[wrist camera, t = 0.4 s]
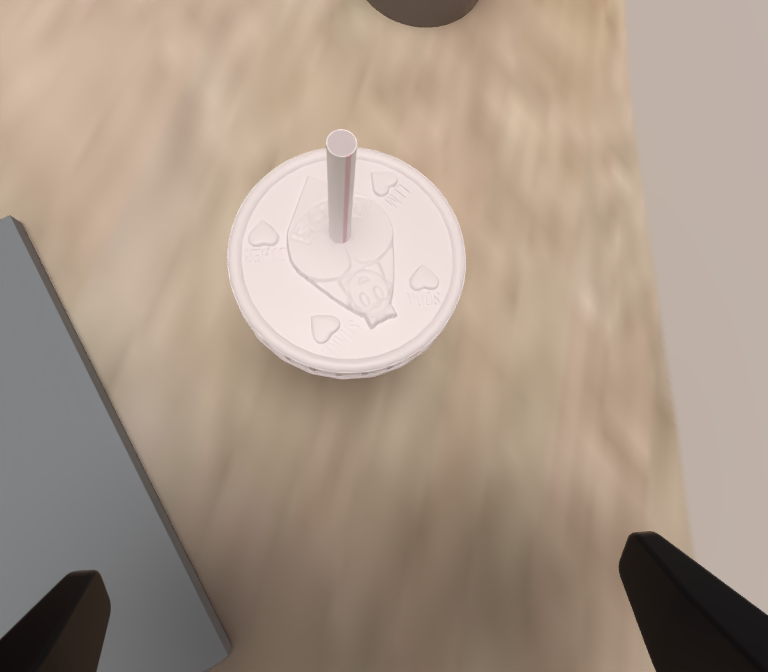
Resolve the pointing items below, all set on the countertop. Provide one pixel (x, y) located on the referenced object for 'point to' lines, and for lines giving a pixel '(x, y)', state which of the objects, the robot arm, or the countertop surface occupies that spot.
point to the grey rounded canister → (424, 11)
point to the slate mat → (84, 489)
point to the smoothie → (346, 261)
